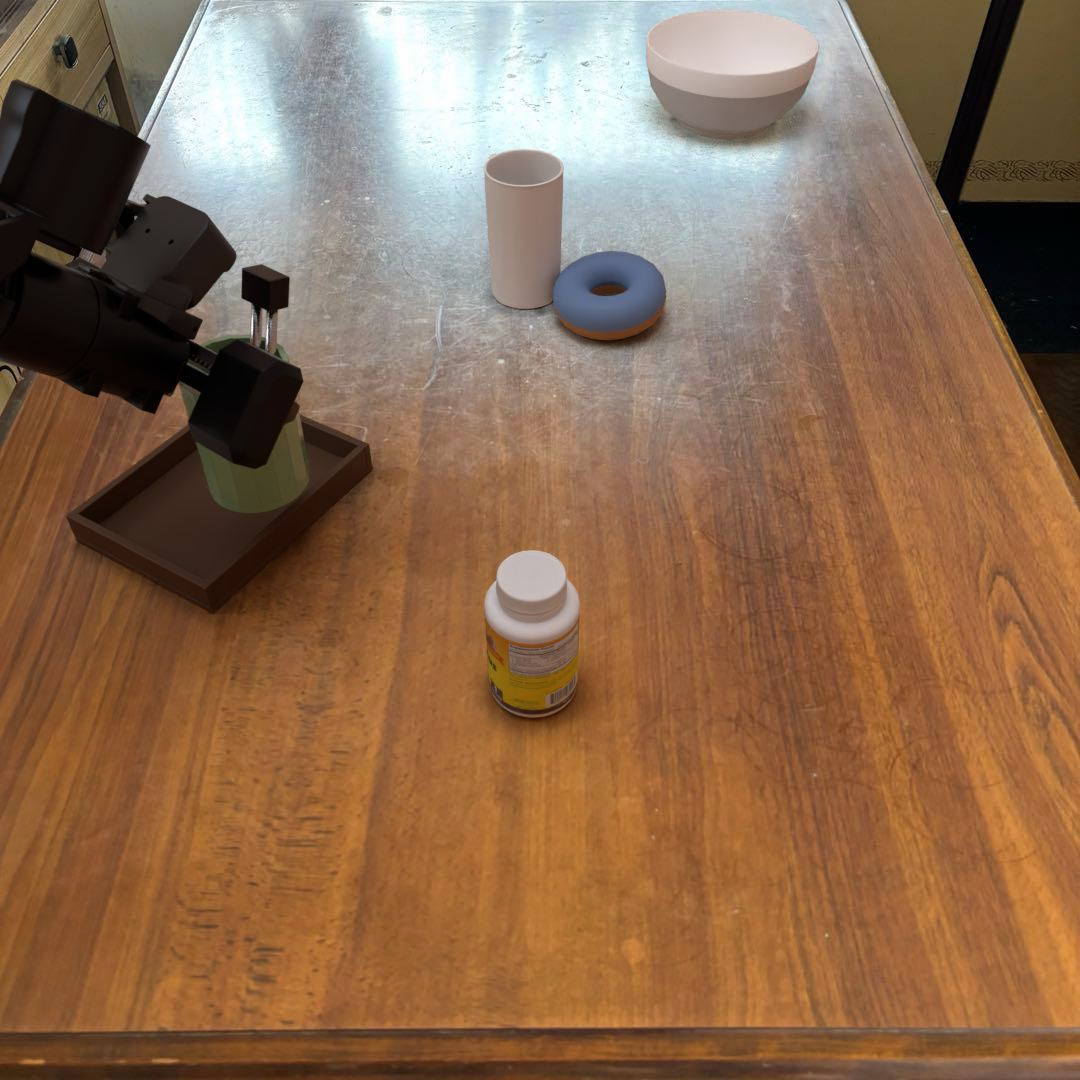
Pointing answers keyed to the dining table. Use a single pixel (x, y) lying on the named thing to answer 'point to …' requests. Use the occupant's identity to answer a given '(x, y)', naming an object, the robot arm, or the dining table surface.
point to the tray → (209, 516)
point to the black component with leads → (264, 301)
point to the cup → (248, 485)
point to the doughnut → (609, 314)
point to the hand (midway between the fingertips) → (257, 391)
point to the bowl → (729, 69)
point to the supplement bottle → (532, 635)
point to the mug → (524, 225)
